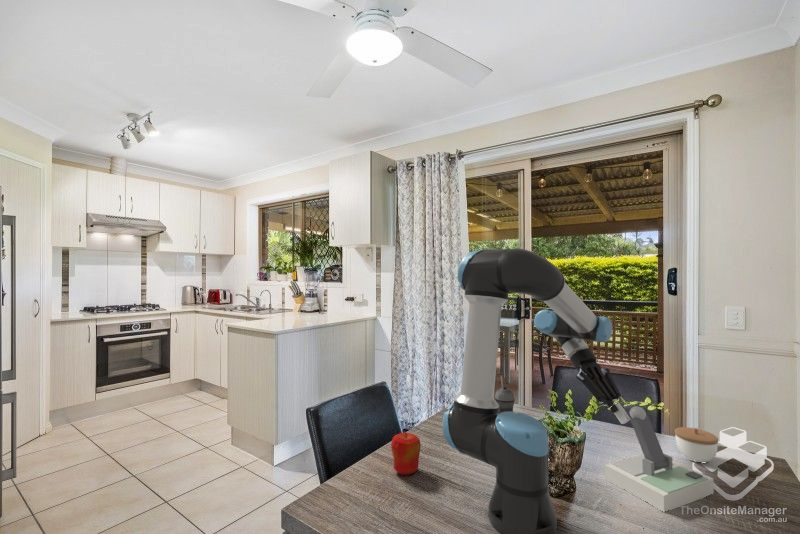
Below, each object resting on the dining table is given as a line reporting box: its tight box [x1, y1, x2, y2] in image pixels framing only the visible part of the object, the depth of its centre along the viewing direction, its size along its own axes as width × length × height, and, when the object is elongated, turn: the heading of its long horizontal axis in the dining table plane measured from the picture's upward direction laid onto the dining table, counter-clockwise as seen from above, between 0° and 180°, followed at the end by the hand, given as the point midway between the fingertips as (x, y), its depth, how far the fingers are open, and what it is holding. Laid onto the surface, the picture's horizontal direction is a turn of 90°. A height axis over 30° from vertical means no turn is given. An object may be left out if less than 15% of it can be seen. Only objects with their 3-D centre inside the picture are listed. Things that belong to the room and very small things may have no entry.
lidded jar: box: [674, 426, 719, 463], centre depth 119 cm, size 11×11×9 cm
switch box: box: [604, 453, 715, 513], centre depth 103 cm, size 16×20×8 cm
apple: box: [390, 430, 422, 476], centre depth 111 cm, size 9×8×12 cm
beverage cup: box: [494, 375, 516, 414], centre depth 140 cm, size 7×7×20 cm
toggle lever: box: [629, 405, 668, 471], centre depth 106 cm, size 4×5×16 cm
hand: (626, 421), depth 112 cm, fingers closed
